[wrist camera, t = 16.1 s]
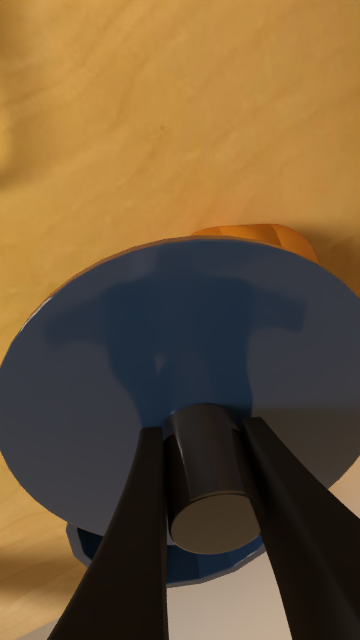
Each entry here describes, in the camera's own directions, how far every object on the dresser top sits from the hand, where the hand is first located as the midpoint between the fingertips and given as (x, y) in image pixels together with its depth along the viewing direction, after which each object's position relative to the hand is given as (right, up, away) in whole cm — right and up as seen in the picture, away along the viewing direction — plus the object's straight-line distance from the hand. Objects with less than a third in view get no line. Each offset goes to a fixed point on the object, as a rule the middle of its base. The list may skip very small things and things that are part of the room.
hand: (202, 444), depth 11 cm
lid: (0, 0, +1) cm, 1 cm away
